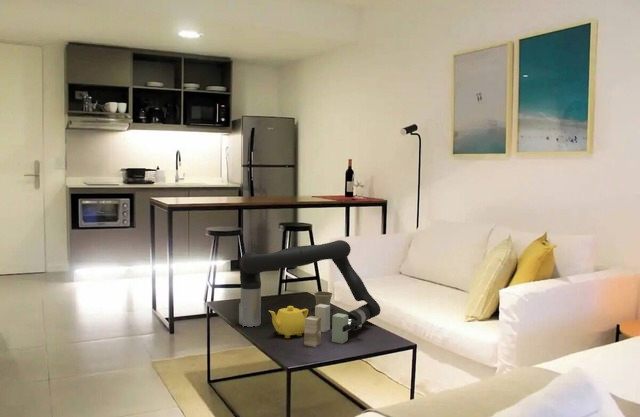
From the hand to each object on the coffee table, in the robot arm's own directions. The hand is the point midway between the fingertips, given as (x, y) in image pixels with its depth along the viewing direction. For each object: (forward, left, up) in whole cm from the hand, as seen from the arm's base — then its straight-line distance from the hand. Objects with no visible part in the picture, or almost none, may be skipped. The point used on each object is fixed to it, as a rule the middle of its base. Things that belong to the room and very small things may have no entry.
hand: (337, 328), depth 233 cm
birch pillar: (-10, +2, -6) cm, 12 cm away
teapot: (-15, +18, -6) cm, 24 cm away
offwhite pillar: (+2, +19, -6) cm, 20 cm away
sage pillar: (+2, +2, -6) cm, 7 cm away
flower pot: (+17, +49, -6) cm, 52 cm away
